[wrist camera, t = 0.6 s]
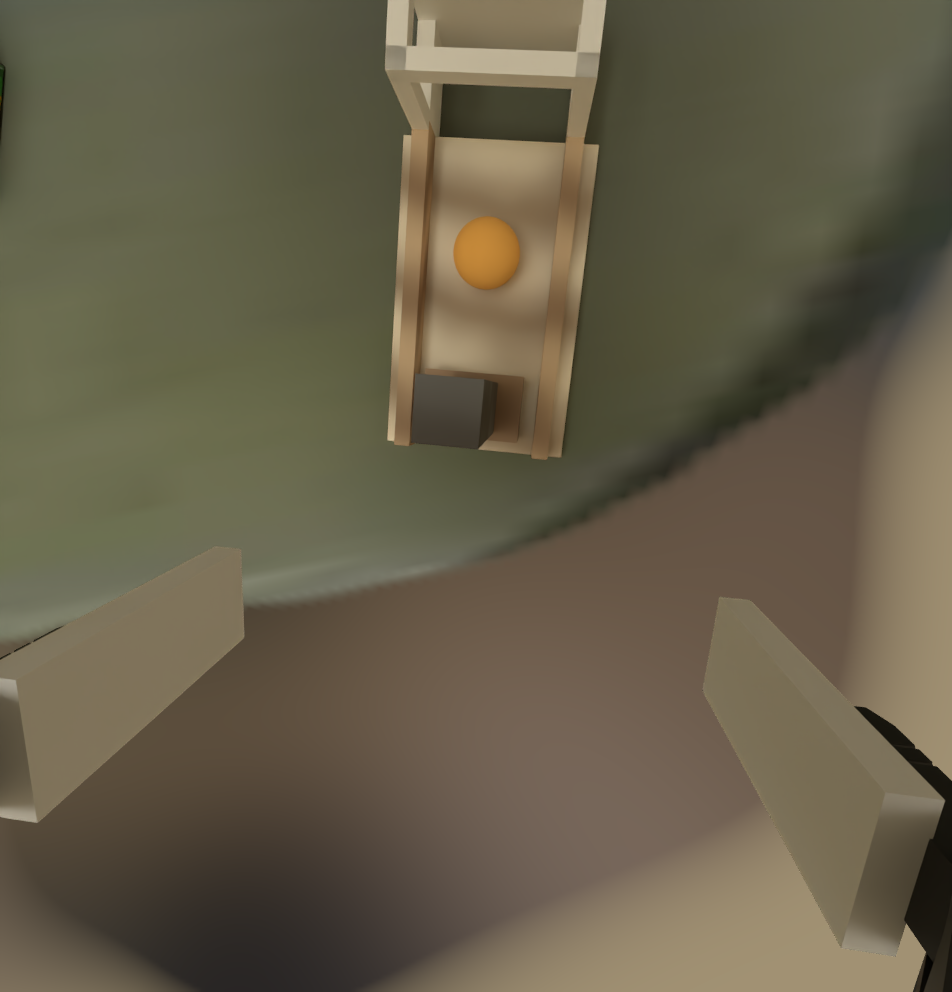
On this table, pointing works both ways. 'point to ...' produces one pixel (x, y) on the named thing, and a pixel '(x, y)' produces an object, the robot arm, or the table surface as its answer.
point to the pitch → (504, 310)
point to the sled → (466, 408)
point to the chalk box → (1, 80)
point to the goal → (493, 51)
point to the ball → (486, 253)
